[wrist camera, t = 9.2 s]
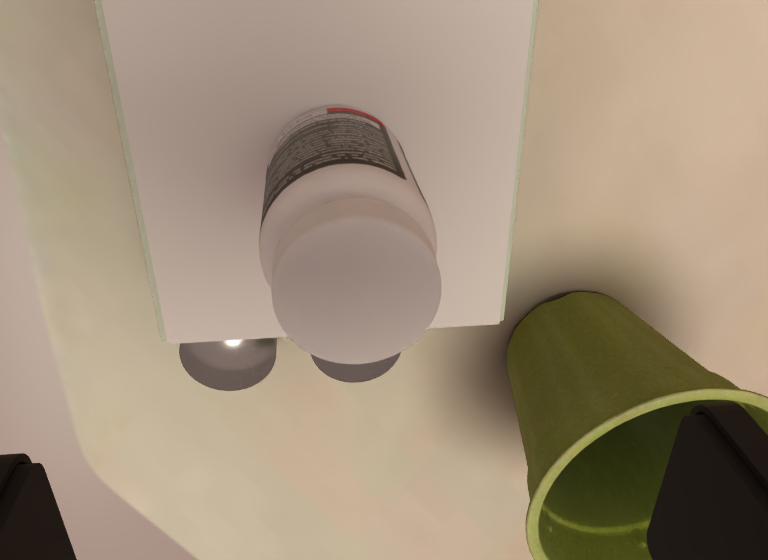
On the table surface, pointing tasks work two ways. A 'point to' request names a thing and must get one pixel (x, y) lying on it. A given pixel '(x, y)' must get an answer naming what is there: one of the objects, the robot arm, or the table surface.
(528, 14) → the scale
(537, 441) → the plant pot
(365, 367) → the spacer
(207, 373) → the spacer
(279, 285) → the pill bottle
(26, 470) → the robot arm
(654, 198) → the table surface
